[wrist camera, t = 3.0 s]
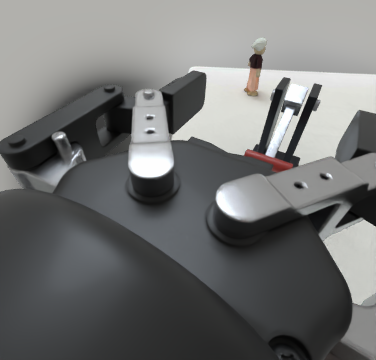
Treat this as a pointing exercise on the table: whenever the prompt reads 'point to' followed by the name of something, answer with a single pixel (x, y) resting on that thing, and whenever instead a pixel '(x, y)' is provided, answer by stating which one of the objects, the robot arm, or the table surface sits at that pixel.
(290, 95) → the lever
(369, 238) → the table surface
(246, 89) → the grandmother figurine
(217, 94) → the table surface
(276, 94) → the bracket
